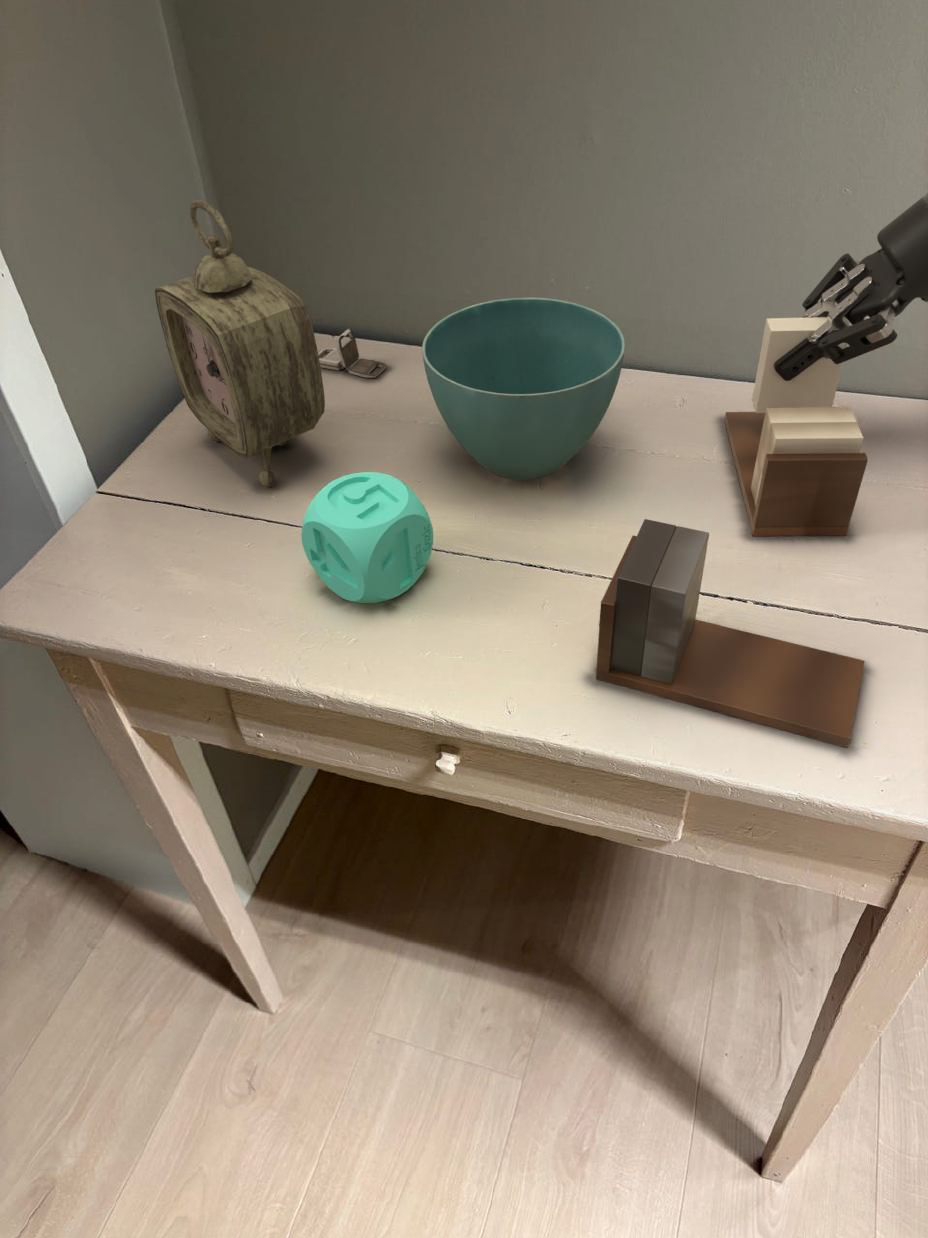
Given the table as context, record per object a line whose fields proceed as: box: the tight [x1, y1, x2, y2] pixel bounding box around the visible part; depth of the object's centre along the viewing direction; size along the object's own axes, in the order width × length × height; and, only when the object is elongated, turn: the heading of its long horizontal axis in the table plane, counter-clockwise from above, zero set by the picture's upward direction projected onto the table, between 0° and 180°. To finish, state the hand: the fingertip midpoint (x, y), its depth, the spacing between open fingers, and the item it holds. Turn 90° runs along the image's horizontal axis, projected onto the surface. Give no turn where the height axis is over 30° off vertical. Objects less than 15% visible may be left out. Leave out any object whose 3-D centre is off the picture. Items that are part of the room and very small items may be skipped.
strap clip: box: [318, 328, 387, 379], centre depth 108 cm, size 8×3×4 cm, turn 63°
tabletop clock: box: [154, 199, 326, 487], centre depth 89 cm, size 14×9×25 cm, turn 38°
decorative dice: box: [300, 471, 434, 604], centre depth 80 cm, size 8×8×8 cm
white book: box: [751, 317, 850, 413], centre depth 89 cm, size 2×7×8 cm, turn 86°
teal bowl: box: [421, 297, 626, 481], centre depth 91 cm, size 18×18×12 cm
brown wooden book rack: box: [724, 406, 869, 537], centre depth 87 cm, size 19×8×10 cm, turn 177°
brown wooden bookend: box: [595, 518, 866, 748], centre depth 69 cm, size 18×8×10 cm, turn 67°
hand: (777, 364), depth 89 cm, fingers closed on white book, 2 cm apart
